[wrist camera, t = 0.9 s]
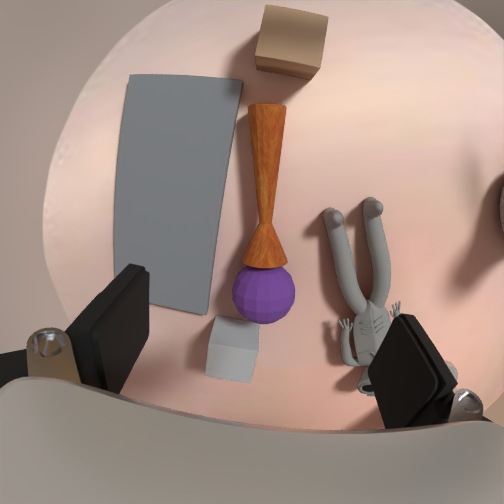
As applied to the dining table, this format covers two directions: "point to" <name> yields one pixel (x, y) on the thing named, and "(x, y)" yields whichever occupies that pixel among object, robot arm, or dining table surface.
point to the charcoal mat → (173, 182)
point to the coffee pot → (502, 208)
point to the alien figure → (368, 311)
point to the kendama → (265, 227)
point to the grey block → (232, 349)
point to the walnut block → (291, 42)
